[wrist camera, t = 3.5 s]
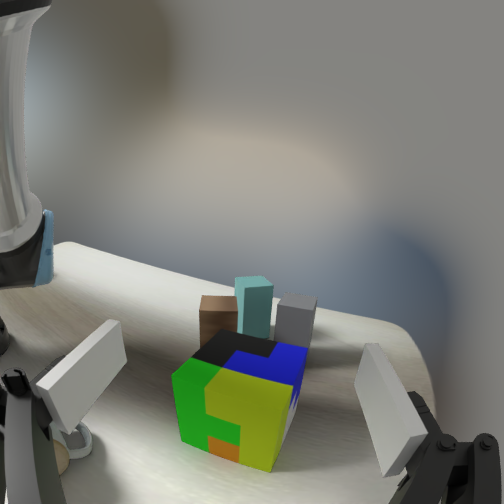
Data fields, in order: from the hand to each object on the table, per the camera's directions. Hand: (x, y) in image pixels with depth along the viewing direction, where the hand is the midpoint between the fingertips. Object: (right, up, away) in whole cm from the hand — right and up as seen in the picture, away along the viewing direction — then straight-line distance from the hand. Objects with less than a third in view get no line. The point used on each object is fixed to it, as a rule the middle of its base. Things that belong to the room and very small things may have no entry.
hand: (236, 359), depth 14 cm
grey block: (+7, -11, +29) cm, 32 cm away
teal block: (+1, -9, +36) cm, 37 cm away
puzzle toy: (0, -15, +14) cm, 20 cm away
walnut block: (-4, -11, +27) cm, 29 cm away
